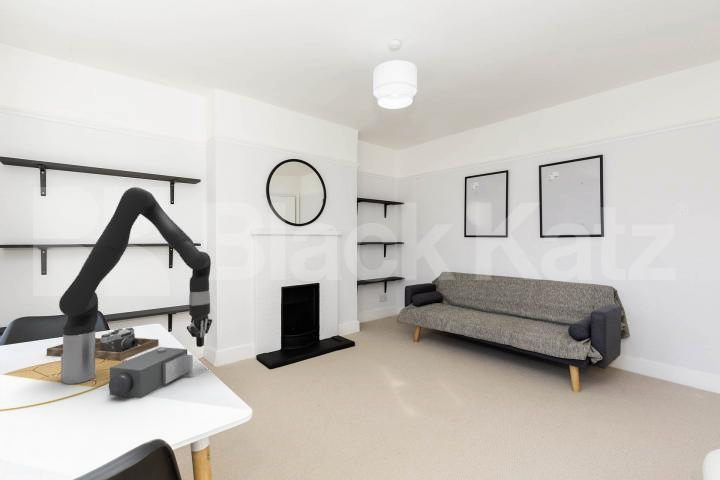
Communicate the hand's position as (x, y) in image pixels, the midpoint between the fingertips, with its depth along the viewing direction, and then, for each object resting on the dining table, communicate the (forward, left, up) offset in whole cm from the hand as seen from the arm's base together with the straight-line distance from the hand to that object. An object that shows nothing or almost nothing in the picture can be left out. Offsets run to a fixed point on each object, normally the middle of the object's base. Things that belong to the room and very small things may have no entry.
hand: (200, 346), depth 137 cm
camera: (-49, +12, -10) cm, 51 cm away
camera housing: (-9, -16, -9) cm, 20 cm away
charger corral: (-69, +10, -9) cm, 71 cm away
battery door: (-1, -11, -8) cm, 14 cm away
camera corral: (-47, +13, -9) cm, 50 cm away
